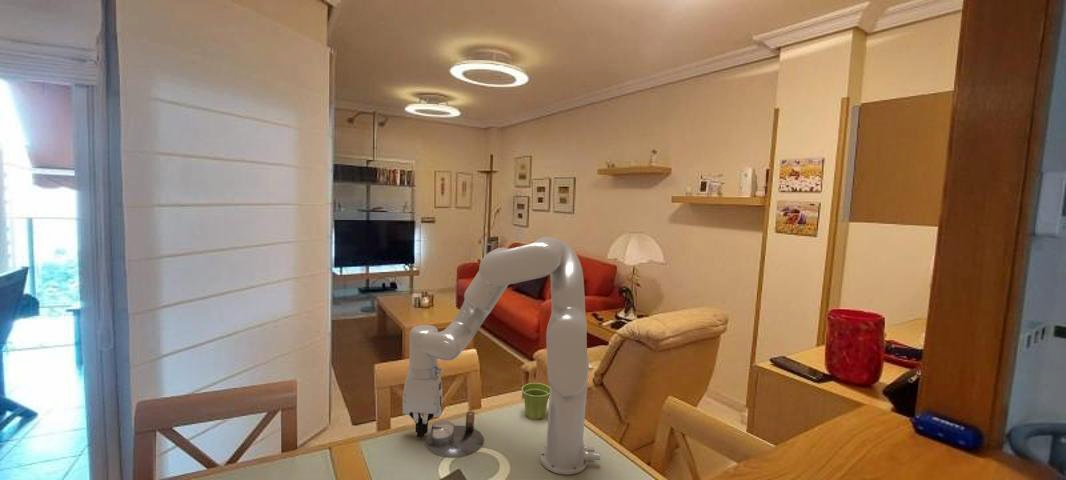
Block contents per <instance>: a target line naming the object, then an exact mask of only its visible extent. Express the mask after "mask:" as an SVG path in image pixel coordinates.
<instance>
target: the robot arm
mask: <svg viewBox="0 0 1066 480" xmlns="http://www.w3.org/2000/svg"><path fill="white" fill-rule="evenodd" d="M478 267H479V268H478V269H479V270H478V271H477V273H476V275H475V276H474V277H473V279H472V281H470V284H469V285H468V286H467V288H466V290H465V291H464V296H463V298H464V300H463V303H462V305H461V307H460V308H459V311H458V312H457V313H456V315H455V316H454V318H453V319H452V321H451V323H450V324H449V325H448V326H447V327H446V328H445V329H443V330H441V331H439V330H438V328H437V327H436V326H434V325H432V324H419V325H415V326H414V327H412V328H411V329H410V331H409V350H408V351H409V352H408V353H409V354H408V357H409V358H408V359H409V360H408V373H407V375H406V377H405V381H404V382H405V383H404V385H403V386H404V387H403V394H402V414H404V415H407V416H409V417H410V418H411V419H412V420H413V423H414V424H415V428H414V429H415V433H416V437H417V438H422V439H423V438H424V437H425V434H427V433H428V431H429V421H431V419H433V418H439V417H441V415H442V414H443V412H442V408H441V407H442V405H443V385H442V384H443V383H442V377H441V374H442V373H443V371H444V369H443V368H441V367H440V366H439V363H438V360H441V361H453V360H455V359H456V358H458V357H459V356H460V355H461V353H462V352H463V351H464V350H465V349H466V348H467V346H469V344H470V343H471V341H472V340H473V338H474V337H475V335H476V334H477V333H478V331H479V329H480V328H481V326H482V325H483V323H484V322H485V320H486V319H487V317H488V316H489V315H490V314H491V313H492V310H493V309H494V308H495V306H496V304H497V302H499V299H501V297H502V295H503V294H504V292H505V291H506V290H507V288H508V287H509V285H513V284H514V285H515V284H517V283H518V284H519V283H522V282H528V281H532V280H536V279H541V278H545V277H548V276H549V275H550V295H551V297H550V298H551V312H550V318H549V321H548V323H547V327H546V340H545V341H546V343H545V344H546V362H547V363H546V364H547V365H546V366H547V379H548V384H549V387H550V396H549V398H548V413H547V414H548V417H547V431H546V446H545V447H543V448H542V450H541V451H540V453H539V460H540V461H539V462H540V463H541V465H542V466H543V467H544V468H545V469H546V470H548V471H550V472H552V473H555V474H559V475H567V476H568V475H575V474H579V473H581V472H583V471H584V470H585V469H586V468H587V466H588V463H589V462H588V460H595V461H601V452H599V451H595V450H596V449H595V447H591V446H590V447H589V446H586V445H585V443H584V441H585V440H584V432H585V416H586V407H587V392H588V378H589V367H590V365H589V364H590V361H589V356H588V345H587V344H588V342H587V341H588V340H587V338H588V337H587V333H588V331H587V330H588V322H587V321H588V320H587V316H586V315H587V314H586V299H585V298H586V297H585V296H586V295H585V281H584V272H583V267H582V264H581V261H580V259H579V257H578V255H577V254H576V251H574V249H573V248H572V247H570V245H568V244H567V243H566V242H564V241H562V240H560V239H559V238H556V237H553V236H544V237H540V238H538V239H535V241H534V242H531V243H527V244H524V245H519V246H516V247H511V248H509V247H508V248H507V247H498V248H497V247H496V248H495V249H493V250H491V251H489V252H487V253H486V254H485V255H484V256H483V258H482V259H481V261H480V263H479V266H478ZM422 414H423V417H422Z"/></svg>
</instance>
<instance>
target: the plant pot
mask: <svg viewBox="0 0 1066 480" xmlns="http://www.w3.org/2000/svg"><path fill="white" fill-rule="evenodd" d="M521 392H522V395H523V400H524V401H523V402H524V411H525V416H527V418H528V419H529V420H537V421H538V420H540V419H544V418H545V416H546V412H547V406H548V403H549V399H550V385H547V384H544V383H540V382H531V383H526V384H525V385H524V384H523V385H522V387H521Z"/></svg>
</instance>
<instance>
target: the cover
mask: <svg viewBox="0 0 1066 480" xmlns="http://www.w3.org/2000/svg"><path fill="white" fill-rule="evenodd" d="M454 426H455V424H454V423H453V422H452V421H451V420H447V419H446V420H445V419H443V420H438V421H435V422H433V423H432V424H431V432H430V433H431V442H432V443H433V444H435V445H439V446H443V445H448V444H450V443H451V442H452V441H453V434H454Z"/></svg>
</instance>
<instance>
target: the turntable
mask: <svg viewBox="0 0 1066 480" xmlns="http://www.w3.org/2000/svg"><path fill="white" fill-rule="evenodd" d="M475 416H476V415H475V411H470V410H469V411H467V412H465V425H454V434H453V441H452V442H451V443H450V444H448V445H443V446H439V445H435V444H433V443H432V442H431V432H429V434H428V435H427V436H426V438H425V439H424V441H425V442H424V445H425V448H426V450H427V451H428V452H430V453H431V454H432V455H435V456H437V457H442V458H447V459H457V458H465V457H467V456H470V455H473V454H475V453H478V451H480V449H482V447H483V446H484V443H485V438H484V436H483V434H482V433H481V432H480V431H478V430H477V429H475Z"/></svg>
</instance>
